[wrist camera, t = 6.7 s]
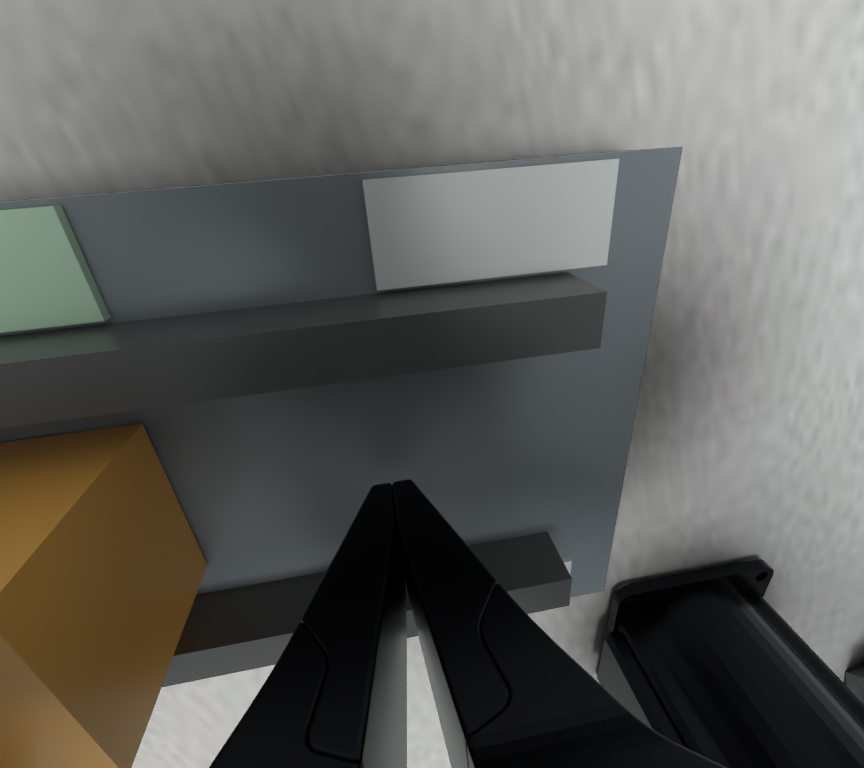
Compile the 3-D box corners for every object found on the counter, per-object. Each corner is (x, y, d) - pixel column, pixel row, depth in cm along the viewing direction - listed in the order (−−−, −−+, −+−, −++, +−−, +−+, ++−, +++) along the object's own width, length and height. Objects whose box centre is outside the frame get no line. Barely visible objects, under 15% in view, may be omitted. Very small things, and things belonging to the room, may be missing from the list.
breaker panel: (620, 151, 9) (858, 135, 5) (574, 540, 15) (666, 697, 10) (-217, 219, 8) (-1005, 289, 3) (85, 630, 13) (-52, 862, 9)
